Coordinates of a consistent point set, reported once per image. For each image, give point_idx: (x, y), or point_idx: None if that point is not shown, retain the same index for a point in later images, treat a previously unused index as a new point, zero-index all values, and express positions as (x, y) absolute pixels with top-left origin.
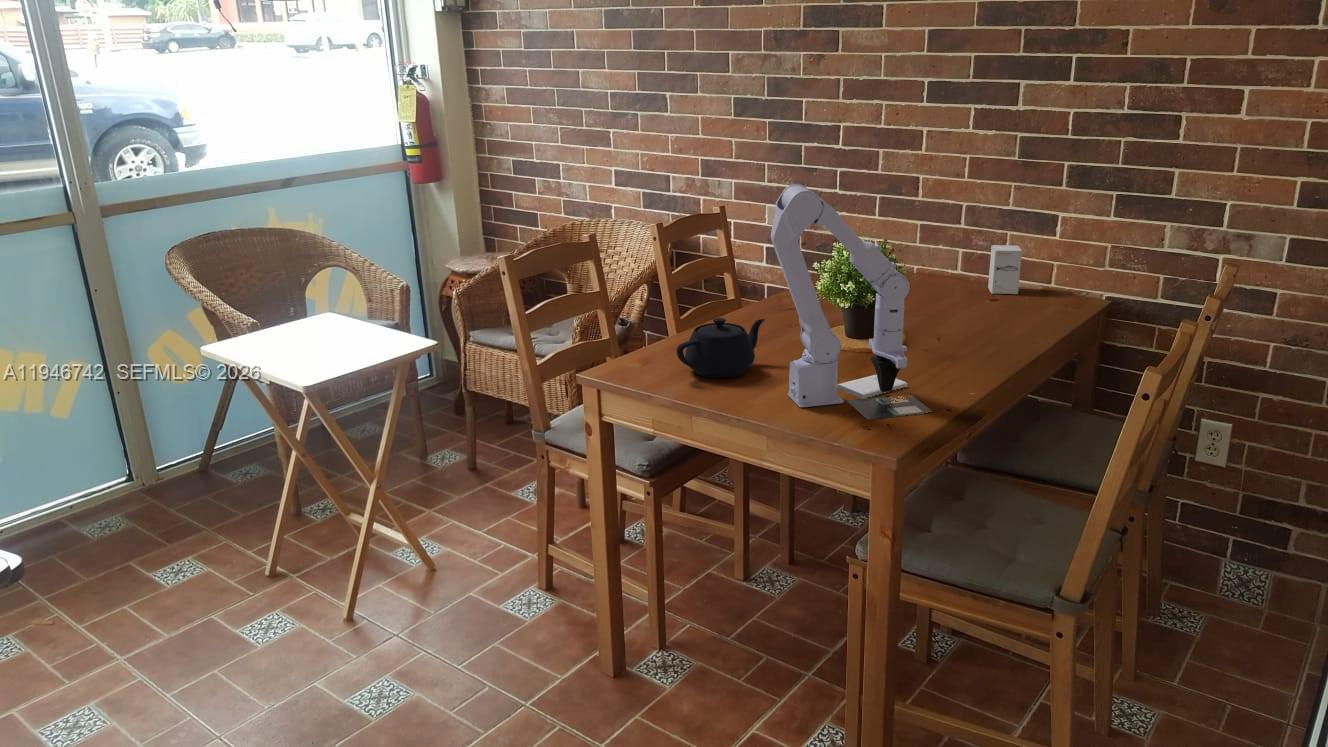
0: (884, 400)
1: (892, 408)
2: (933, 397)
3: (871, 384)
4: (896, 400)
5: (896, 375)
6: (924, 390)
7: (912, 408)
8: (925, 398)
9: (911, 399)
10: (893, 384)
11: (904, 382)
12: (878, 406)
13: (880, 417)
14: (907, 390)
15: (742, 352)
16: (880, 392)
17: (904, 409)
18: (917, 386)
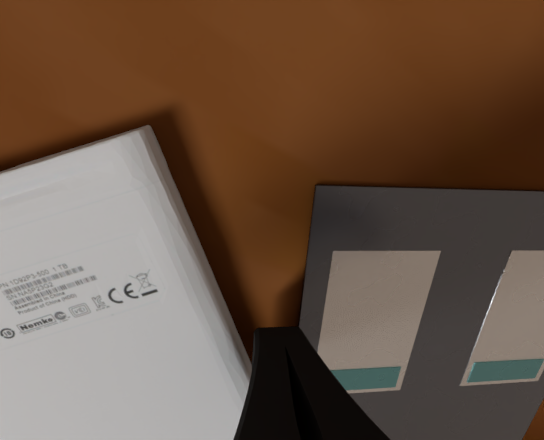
0: (353, 364)
1: (472, 366)
2: (451, 37)
3: (122, 391)
4: (384, 311)
5: (379, 429)
6: (274, 14)
7: (533, 281)
8: (435, 114)
9: (415, 224)
10: (321, 359)
11: (127, 155)
12: (411, 408)
13: (520, 432)
14: (227, 160)
15: None
16: (245, 358)
17: (517, 322)
18: (150, 18)
